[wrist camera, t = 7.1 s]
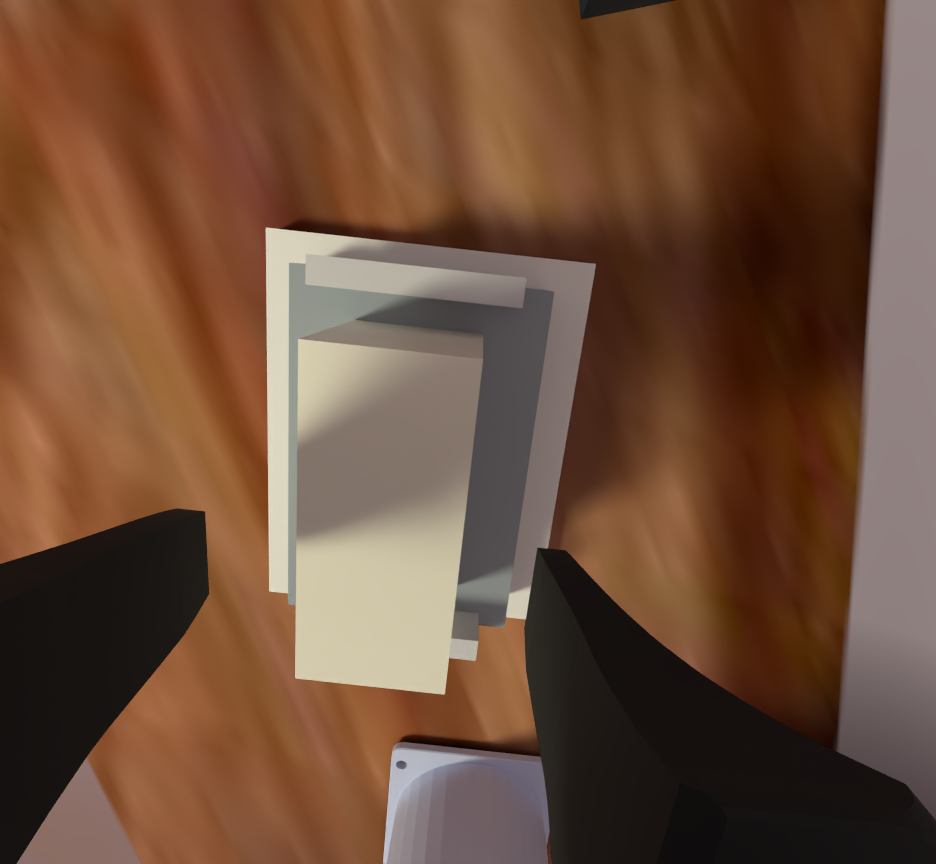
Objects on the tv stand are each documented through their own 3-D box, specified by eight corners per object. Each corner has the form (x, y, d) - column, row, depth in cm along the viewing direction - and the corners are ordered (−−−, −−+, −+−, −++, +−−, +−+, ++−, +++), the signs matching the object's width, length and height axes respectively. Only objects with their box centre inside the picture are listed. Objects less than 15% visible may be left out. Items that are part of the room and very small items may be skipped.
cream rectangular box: (454, 585, 18) (444, 694, 14) (344, 574, 18) (295, 678, 14) (483, 334, 16) (482, 359, 11) (354, 319, 16) (297, 338, 11)
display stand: (533, 605, 22) (545, 685, 18) (278, 577, 22) (228, 650, 18) (590, 264, 18) (623, 261, 14) (277, 230, 18) (212, 215, 14)
